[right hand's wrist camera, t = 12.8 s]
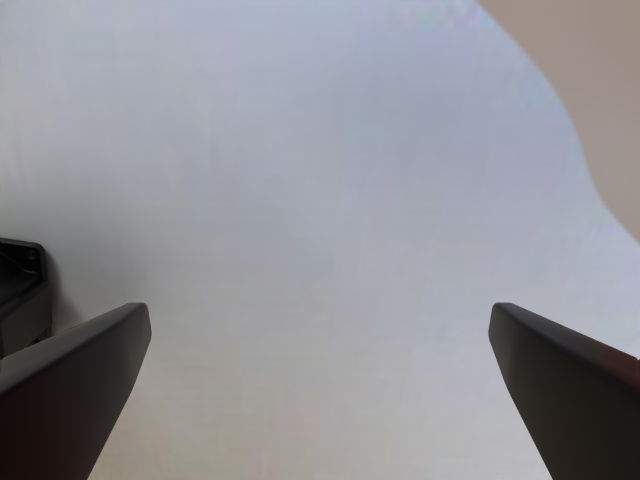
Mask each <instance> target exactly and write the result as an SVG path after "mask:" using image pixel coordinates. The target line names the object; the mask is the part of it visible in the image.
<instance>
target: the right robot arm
mask: <svg viewBox="0 0 640 480" xmlns="http://www.w3.org/2000/svg"><path fill="white" fill-rule="evenodd" d="M31 250H33V251H34V252H35V253H36V256H35V255H33V254H32V252H31ZM51 323H52V312H51V297H50V285H49V284H48V282H47V267H46V253H45V249H44V248H43V247H42V246H41V245H40V244H37V243H33V242H26V241H19V240H12V239H5V238H0V480H87V479H88V477H89V475H90V473H91V471H92V469H93V467H94V465H95V463H96V461H97V459H98V457H99V455H100V453H101V451H102V449H103V447H104V445H105V443H106V441H107V439H108V437H109V435H110V433H111V431H112V429H113V427H114V425H115V423H116V421H117V419H118V417H119V415H120V413H121V411H122V409H123V407H124V405H125V403H126V401H127V399H128V397H129V395H130V393H131V391H132V389H133V386H134V384H135V381H136V379H137V376H138V373H139V370H140V368H141V365H142V362H143V359H144V357H145V354H146V351H147V348H148V346H149V343H150V340H151V325H150V319H149V312H148V308H147V305H146V304H145V303H128V304H125V305H123V306H121V307H119V308H116V309H114V310H112V311H109V312H107V313H105V314H103V315H100V316H98V317H96V318H93V319H91V320H89V321H87V322H84V323H82V324H80V325H77V326H75V327H73V328H71V329H68V330H66V331H64V332H61V333H59V334H57V335H55V336H52V337H51ZM39 339H41V340H42V341H40V340H39ZM489 340H490V343H491V346H492V348H493V351H494V354H495V357H496V359H497V362H498V365H499V368H500V370H501V373H502V376H503V379H504V381H505V384H506V386H507V389H508V391H509V393H510V395H511V397H512V399H513V401H514V403H515V405H516V407H517V409H518V411H519V413H520V415H521V417H522V419H523V421H524V423H525V425H526V427H527V429H528V431H529V433H530V435H531V437H532V439H533V441H534V443H535V445H536V447H537V449H538V451H539V453H540V455H541V457H542V459H543V461H544V463H545V465H546V467H547V469H548V471H549V473H550V475H551V477H552V479H553V480H640V360H637V358H636V357H633V356H631V355H629V354H627V353H624V352H622V351H620V350H617V349H615V348H613V347H611V346H608V345H606V344H604V343H601V342H599V341H597V340H595V339H592V338H590V337H588V336H585V335H583V334H581V333H579V332H576V331H574V330H572V329H569V328H567V327H565V326H563V325H560V324H558V323H556V322H553V321H551V320H549V319H547V318H544V317H542V316H540V315H537V314H535V313H533V312H531V311H528V310H526V309H524V308H521V307H519V306H517V305H515V304H512V303H495V304H494V305H493V308H492V312H491V319H490V325H489ZM25 347H26V348H25ZM24 348H25V349H24Z"/></svg>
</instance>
